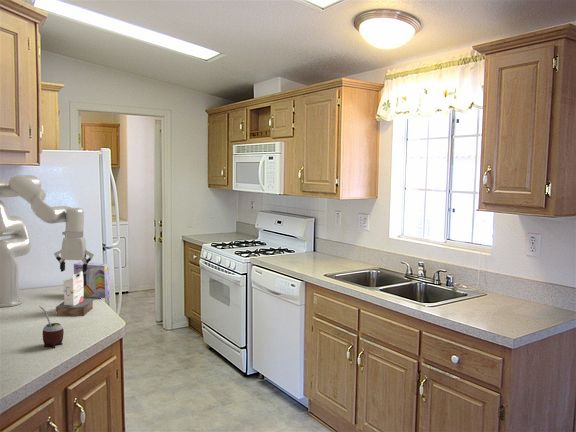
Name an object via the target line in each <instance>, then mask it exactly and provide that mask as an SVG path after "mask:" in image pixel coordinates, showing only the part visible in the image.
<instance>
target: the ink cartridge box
mask: <svg viewBox="0 0 576 432" xmlns="http://www.w3.org/2000/svg"><path fill="white" fill-rule="evenodd" d="M77 275H80V276H78V277H76V276H77ZM84 300H85V297H84V285H83V271H81V272H78V273H75V274H74V273H73V274H72V277H70V278H67V279H64V280H63V302H64V305H67V306H75V305H77V304H79V303H81V302H83V301H84Z"/></svg>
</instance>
